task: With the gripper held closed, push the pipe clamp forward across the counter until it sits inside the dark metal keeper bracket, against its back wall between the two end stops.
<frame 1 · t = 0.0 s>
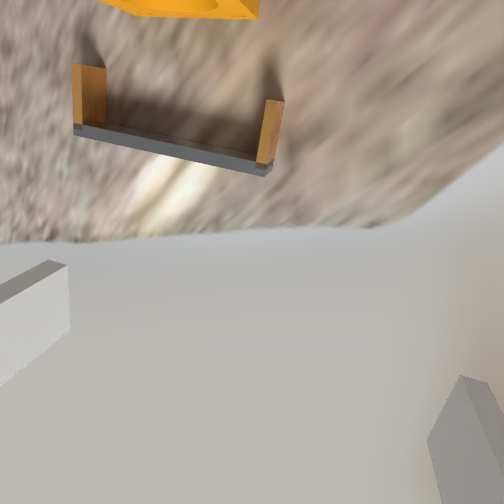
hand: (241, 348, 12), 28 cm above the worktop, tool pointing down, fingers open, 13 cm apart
keeper bracket: (183, 125, 38), on the worktop
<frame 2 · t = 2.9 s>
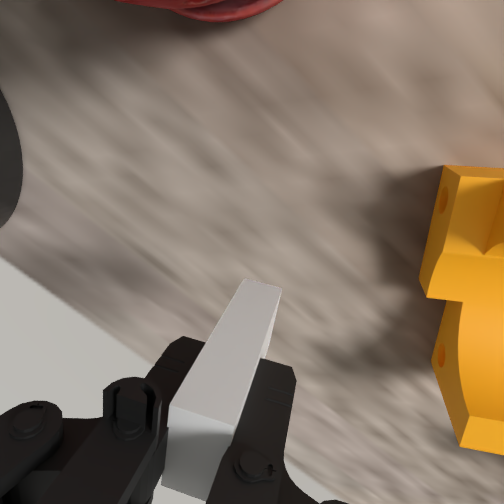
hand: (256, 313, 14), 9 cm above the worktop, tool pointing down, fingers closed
pipe clamp: (459, 273, 21), on the worktop
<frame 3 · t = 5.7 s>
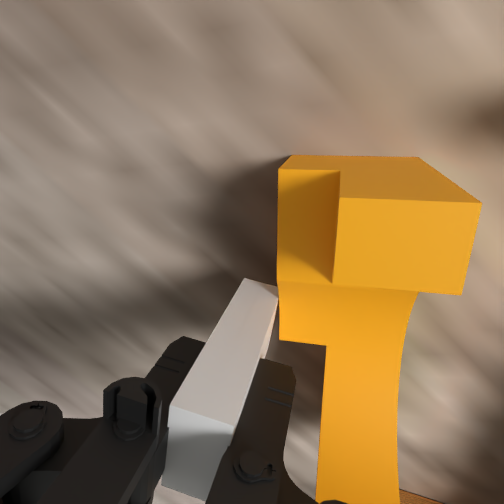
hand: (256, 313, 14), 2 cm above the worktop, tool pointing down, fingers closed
pipe clamp: (339, 300, 16), on the worktop, touching gripper
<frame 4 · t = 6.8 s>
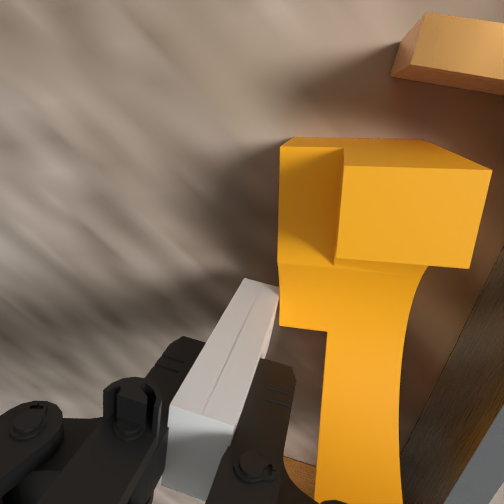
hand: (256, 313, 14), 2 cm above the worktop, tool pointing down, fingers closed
pipe clamp: (340, 288, 15), on the worktop, touching gripper
keeper bracket: (419, 336, 15), on the worktop
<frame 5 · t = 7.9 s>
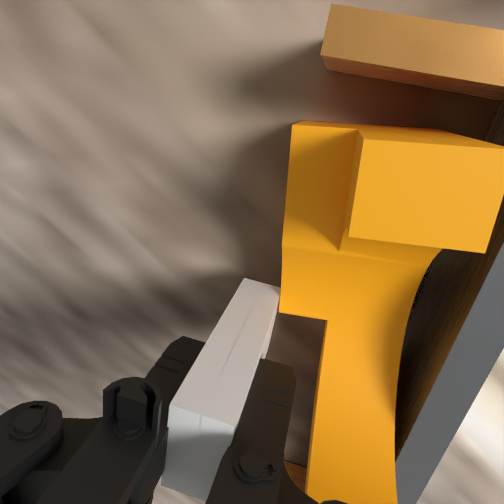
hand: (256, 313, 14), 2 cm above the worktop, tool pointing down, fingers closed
pipe clamp: (342, 278, 15), on the worktop
keeper bracket: (367, 326, 15), on the worktop
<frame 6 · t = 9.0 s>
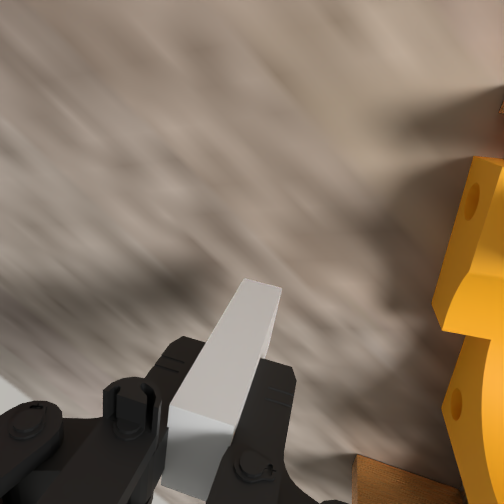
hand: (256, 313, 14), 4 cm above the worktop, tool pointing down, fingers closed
pipe clamp: (484, 299, 16), on the worktop
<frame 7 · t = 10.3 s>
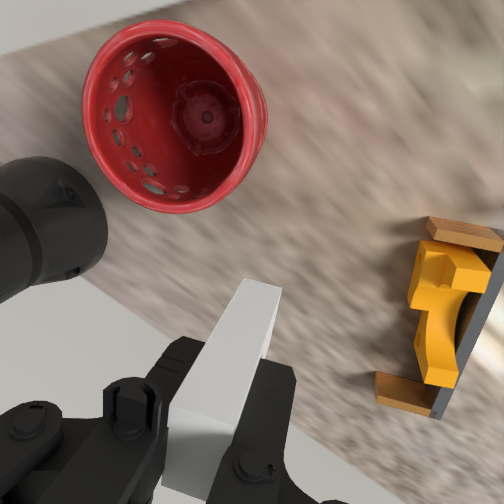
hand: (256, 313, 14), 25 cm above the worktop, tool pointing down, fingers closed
pipe clamp: (429, 295, 38), on the worktop
keeper bracket: (437, 314, 39), on the worktop
plant pot: (208, 114, 37), on the worktop
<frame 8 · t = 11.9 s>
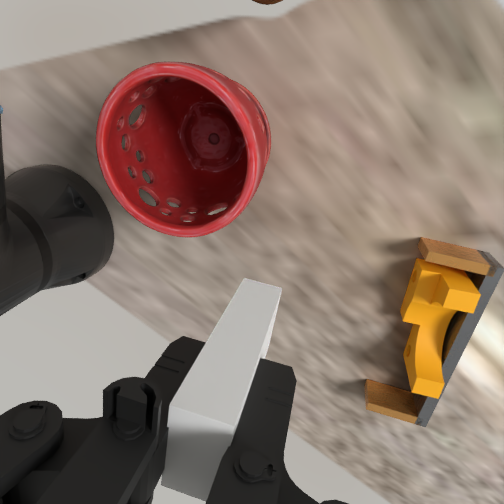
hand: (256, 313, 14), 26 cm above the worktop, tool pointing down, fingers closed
pipe clamp: (421, 309, 41), on the worktop
keeper bracket: (426, 327, 41), on the worktop
plant pot: (215, 133, 38), on the worktop
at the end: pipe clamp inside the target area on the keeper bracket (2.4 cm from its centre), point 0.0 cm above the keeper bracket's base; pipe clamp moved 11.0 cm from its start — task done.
